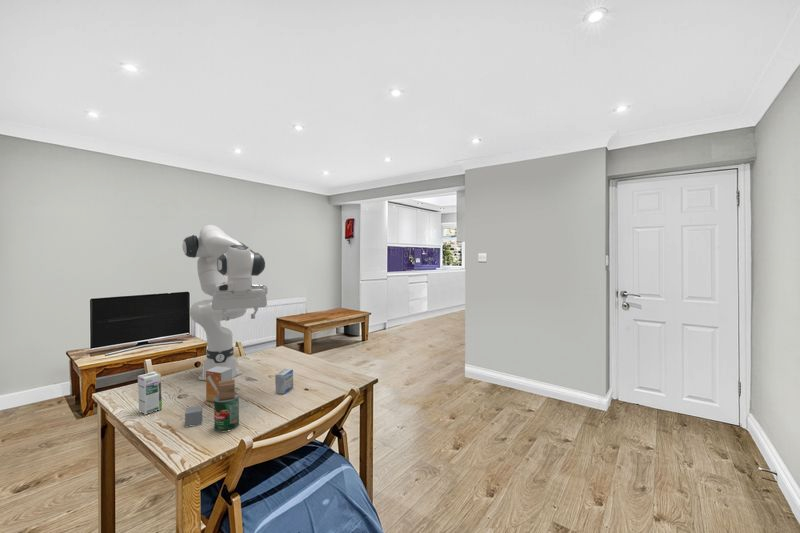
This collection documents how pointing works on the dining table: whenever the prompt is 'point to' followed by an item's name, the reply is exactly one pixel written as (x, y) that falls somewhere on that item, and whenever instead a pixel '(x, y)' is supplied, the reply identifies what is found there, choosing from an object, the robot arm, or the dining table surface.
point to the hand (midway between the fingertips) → (240, 319)
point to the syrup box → (149, 392)
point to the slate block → (193, 416)
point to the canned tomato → (226, 413)
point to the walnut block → (226, 389)
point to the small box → (216, 380)
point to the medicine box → (284, 381)
